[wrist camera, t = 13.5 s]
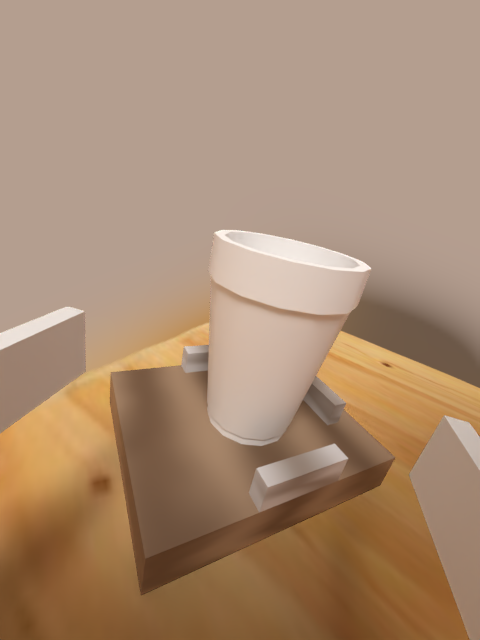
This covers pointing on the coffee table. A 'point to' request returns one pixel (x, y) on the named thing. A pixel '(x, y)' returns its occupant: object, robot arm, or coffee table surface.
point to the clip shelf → (225, 469)
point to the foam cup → (272, 327)
